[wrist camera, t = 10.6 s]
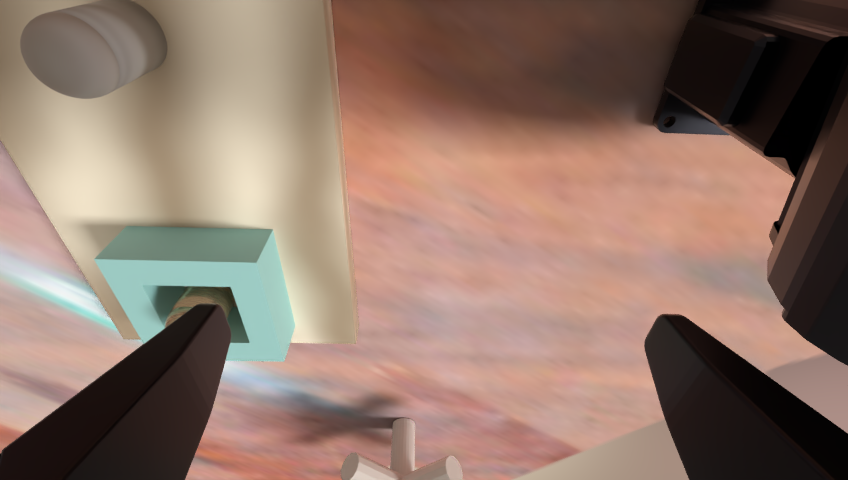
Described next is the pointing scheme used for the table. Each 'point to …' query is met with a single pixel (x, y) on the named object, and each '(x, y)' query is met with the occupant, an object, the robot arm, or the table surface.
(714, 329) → the table surface
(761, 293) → the table surface
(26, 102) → the birch stand board
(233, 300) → the bronze post
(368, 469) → the pipe connector
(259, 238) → the teal collar
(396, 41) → the table surface
